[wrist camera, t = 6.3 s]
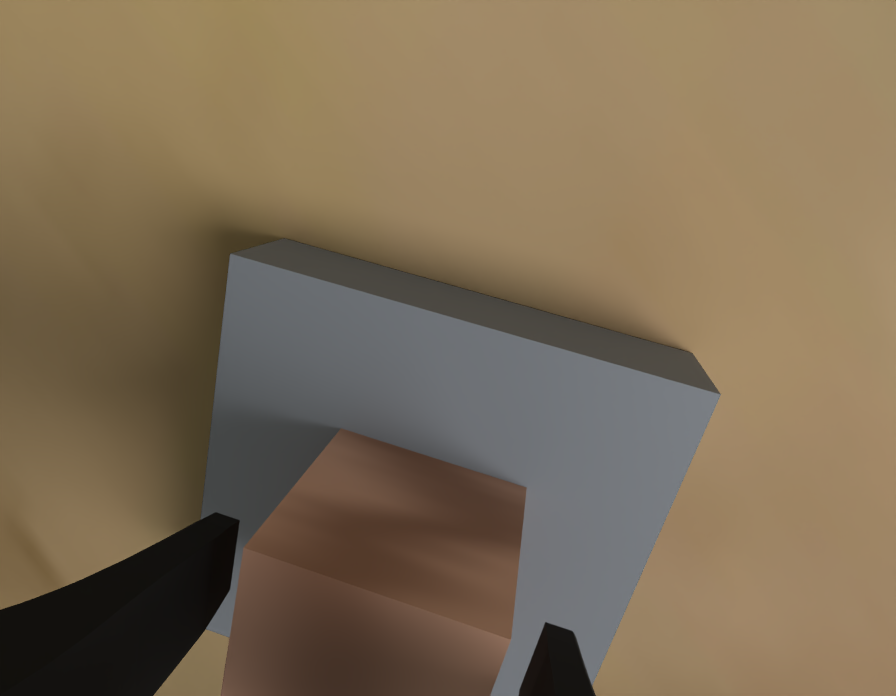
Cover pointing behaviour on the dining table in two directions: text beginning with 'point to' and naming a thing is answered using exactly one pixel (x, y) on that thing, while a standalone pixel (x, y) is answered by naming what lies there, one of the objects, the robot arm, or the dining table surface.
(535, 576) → the slate block
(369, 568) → the terracotta cube
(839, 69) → the dining table surface
